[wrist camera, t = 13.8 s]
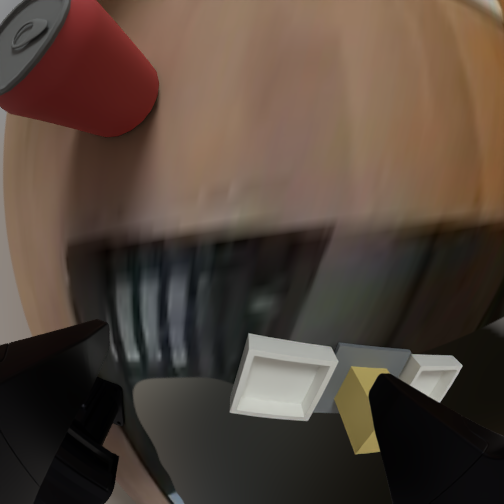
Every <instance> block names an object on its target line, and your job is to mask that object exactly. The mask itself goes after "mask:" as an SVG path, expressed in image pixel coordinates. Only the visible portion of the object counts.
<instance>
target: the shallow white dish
mask: <svg viewBox="0 0 504 504" xmlns="http://www.w3.org/2000/svg"><path fill="white" fill-rule="evenodd" d="M337 364H338V360H337V358H336V356H335V354H334V352H333V350H332V348H331V347H330V346H322V345H315V344H308V343H301V342H295V341H288V340H282V339H277V338H271V337H265V336H260V335H255V334H248V337H247V341H246V344H245V348H244V351H243V355H242V358H241V362H240V365H239V369H238V372H237V376H236V379H235V382H234V386H233V389H232V393H231V398H230V413H235V414H242V415H248V416H256V417H265V418H275V419H286V420H300V421H308V420H309V418H310V416H311V414H312V413H313V411H314V409H315V407H316V405H317V403H318V402H319V400H320V398H321V396H322V394H323V392H324V390H325V388H326V386H327V384H328V382H329V380H330V378H331V376H332V374H333V372H334V370H335V368H336V366H337Z"/></svg>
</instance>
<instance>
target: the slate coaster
mask: <svg viewBox="0 0 504 504" xmlns="http://www.w3.org/2000/svg"><path fill="white" fill-rule="evenodd" d="M334 354H335V356H336V358H337V360H338V364H337V366H336V368H335V370H334V372H333V374H332V376H331V378H330V380H329V382H328V384H327V386H326V388H325V390H324V392H323V394H322V396H321V398H320V400H319V402H318V403H317V405H316V407H315V409H314V411H313V413H339V410H338V408H337V405H336V403H335V400H334V398H335V396H336V394H337V393H338V391H339V389H340V387H341V385H342V383H343V381H344V380H345V378H346V376H347V374H348V372H349V370H350V368H351V366H353V367H367V368H385V369H387V370H388V371H389V373H390V374H392V375H394V376H395V377H397V378H398V376H399V374H400V372H401V371H402V369H403V367H404V365H405V363H406V362H407V360H408V358H409V356H410V354H411V351H410V350H408V349H395V348H384V347H374V346H364V345H355V344H347V343H339V342H338V345H337V347H336V349H335V352H334Z"/></svg>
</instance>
